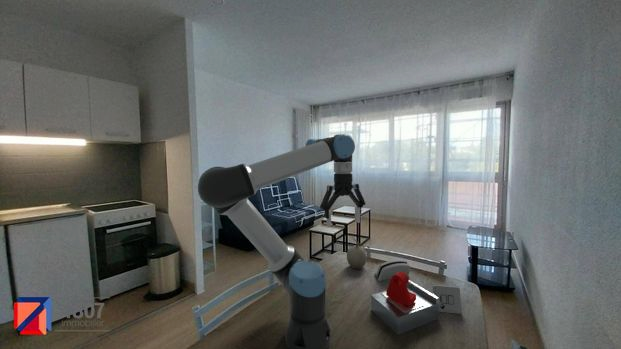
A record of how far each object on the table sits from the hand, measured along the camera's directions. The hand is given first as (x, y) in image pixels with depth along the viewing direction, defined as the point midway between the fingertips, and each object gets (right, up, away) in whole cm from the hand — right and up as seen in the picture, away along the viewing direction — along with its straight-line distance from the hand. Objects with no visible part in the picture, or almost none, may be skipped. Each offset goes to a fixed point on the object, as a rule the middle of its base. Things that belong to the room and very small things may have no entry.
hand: (343, 224), depth 95 cm
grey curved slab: (+27, -31, +18) cm, 45 cm away
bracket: (+20, -26, -10) cm, 34 cm away
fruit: (+12, -30, +29) cm, 44 cm away
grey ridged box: (+21, -32, -9) cm, 39 cm away
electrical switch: (+39, -32, -6) cm, 50 cm away
